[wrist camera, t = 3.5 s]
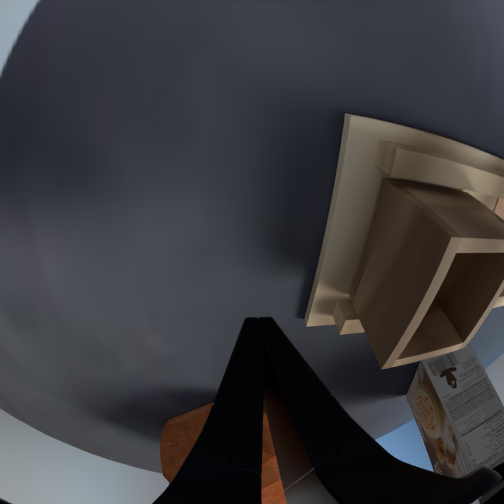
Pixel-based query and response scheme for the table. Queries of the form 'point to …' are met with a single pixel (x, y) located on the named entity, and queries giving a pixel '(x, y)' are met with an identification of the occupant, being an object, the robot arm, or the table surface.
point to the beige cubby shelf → (367, 193)
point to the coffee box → (457, 413)
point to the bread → (185, 435)
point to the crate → (427, 271)
